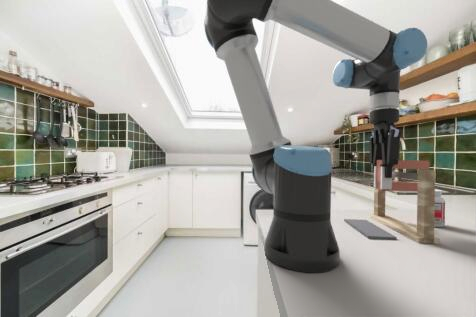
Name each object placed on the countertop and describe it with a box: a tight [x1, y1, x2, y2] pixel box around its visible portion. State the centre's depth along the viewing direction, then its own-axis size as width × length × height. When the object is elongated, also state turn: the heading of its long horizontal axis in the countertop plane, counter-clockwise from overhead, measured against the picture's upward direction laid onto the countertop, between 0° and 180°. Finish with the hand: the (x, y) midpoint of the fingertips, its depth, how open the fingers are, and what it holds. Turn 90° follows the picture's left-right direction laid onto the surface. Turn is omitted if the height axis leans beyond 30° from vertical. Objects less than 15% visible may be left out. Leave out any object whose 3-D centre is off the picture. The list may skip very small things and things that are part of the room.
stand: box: [369, 169, 441, 245], centre depth 66 cm, size 5×23×18 cm, turn 175°
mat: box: [343, 218, 397, 241], centre depth 65 cm, size 7×16×1 cm, turn 175°
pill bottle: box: [434, 189, 446, 228], centre depth 70 cm, size 6×6×11 cm
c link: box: [376, 159, 431, 192], centre depth 66 cm, size 13×3×9 cm, turn 85°
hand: (382, 188), depth 67 cm, fingers closed on c link, 3 cm apart
